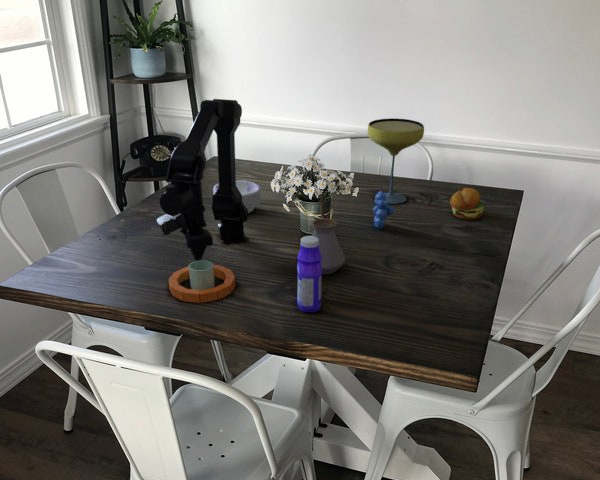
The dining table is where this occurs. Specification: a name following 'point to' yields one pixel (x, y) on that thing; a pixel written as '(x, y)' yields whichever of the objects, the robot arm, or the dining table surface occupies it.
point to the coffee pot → (328, 242)
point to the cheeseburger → (467, 204)
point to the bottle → (309, 275)
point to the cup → (201, 275)
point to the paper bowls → (247, 193)
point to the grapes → (381, 210)
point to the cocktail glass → (395, 143)
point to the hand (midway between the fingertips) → (196, 258)
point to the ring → (205, 294)
